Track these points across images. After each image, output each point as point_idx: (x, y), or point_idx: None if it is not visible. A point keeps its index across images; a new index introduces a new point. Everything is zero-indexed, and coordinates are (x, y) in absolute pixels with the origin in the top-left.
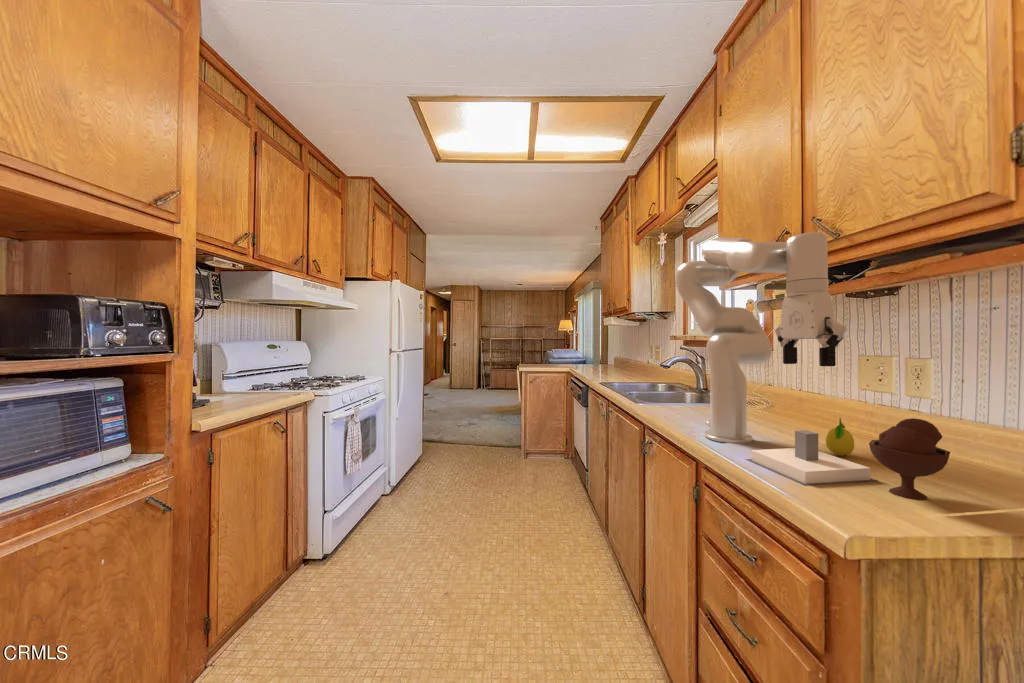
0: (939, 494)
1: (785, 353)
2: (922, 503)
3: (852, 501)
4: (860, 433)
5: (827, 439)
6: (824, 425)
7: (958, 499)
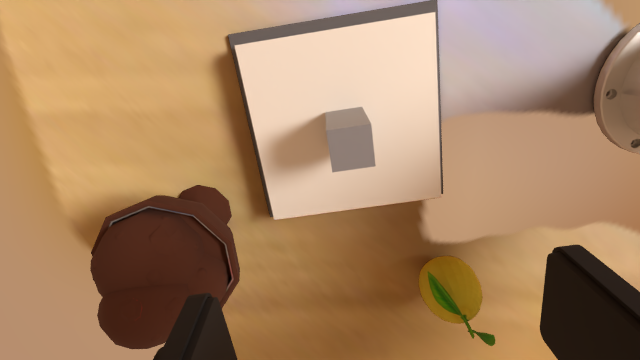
0: None
1: (624, 314)
2: None
3: (160, 85)
4: None
5: (460, 267)
6: None
7: None
